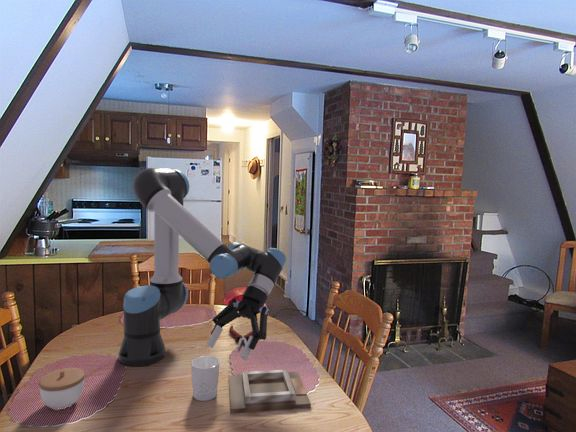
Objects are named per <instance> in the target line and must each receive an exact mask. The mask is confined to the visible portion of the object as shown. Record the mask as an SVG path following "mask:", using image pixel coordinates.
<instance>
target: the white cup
mask: <svg viewBox="0 0 576 432" xmlns="http://www.w3.org/2000/svg"><path fill="white" fill-rule="evenodd" d="M190 363H191V364H190V365H191V384H192V395H193V398H194V399H195V400H197V401H200V402H207V401H208V402H209V401H211V400H213V399H214V398H216V396H217V395H218V386H219V375H220V373H219V372H220V359H219V358H217V357H215V356H213V355H202V356H197V357H196V358H194V359H192V360H191V362H190Z"/></svg>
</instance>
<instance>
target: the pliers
mask: <svg viewBox="0 0 576 432" xmlns="http://www.w3.org/2000/svg"><path fill="white" fill-rule="evenodd" d="M228 332H229V335H230V336H232V338H234V341H235V343H238V344H237V345H238V347H237V349H238V350H240V348H241V347H242V345H243V346H244V347H245V345H246V343H247V341H248V339H249V338H250V336H253V335H252V334H253V331H252V330H251V331H249V332H248V333H247V334H244V335H243V336H242V335H241V334H240V333H239V332H237V331H236V330H235V329H234V325H230V327H229V330H228ZM253 337H254V336H253Z"/></svg>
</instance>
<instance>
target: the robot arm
mask: <svg viewBox="0 0 576 432" xmlns="http://www.w3.org/2000/svg"><path fill="white" fill-rule="evenodd" d="M132 184H133V185H132V189H133V192H134V195H135V198H137V200H138V201H139V203H140V204H141V205H142V207H144V208H145V209H146V210H148V212H150V213H151V212H153V213H154V233H153V234H154V241H153V243H154V245H153V246H154V249H153V250H154V254H153V255H154V256H153V257H154V260H153V261H154V262H153V263H154V264H153V265H154V269H153V271H154V273H153V276H151V277H150V279H149V285H141V286H136V287H134V288H131V289H129V290H128V291H126V293H125V294H124V297H123V304H122V308H123V338H122V342H121V344H120V348H119V351H118V362H120V363H121V364H122V365H125V366H130V367H143V366H148V365H152V364H156V363H158V362H159V361H161V360H163V359H164V358H165V356H166V346H165V342H164V339H163V337H162V334H161V320H162V319H164V318H166V317H169V315H172V314H175V313H176V312H179V311H180V310H181V309H182V308H183V307H184V306H186V304H187V301H188V298H189V291H188V287H187V286H186V285H185V283H184V282H183V277H182V276H181V275H180V274H179V259H180V258H179V256H180V255H179V249H180V248H179V247H180V245H179V244H180V243H179V242H180V240H179V239H180V237H181V238H182V239H183V240H184V241H185V242H186V243H188V244H189V245H190V246H191V247H192V249H194V250H195V251H196V252H197V253H198V254H199V255H200V256H202V257H203V259H205V261H207V262H208V264H209V269H210V271H211V274H212V275H213V276H214V277H216V278H217V279H223V280H224V279H227V278H231V277H233V276H235V275H236V274H237V273H239V272H242V271H243V270H248V271H250V272H253V273H254V274H253V275H252V277H251V279H250V281H249V283H248V286H247V287H246V288H245V290H244V292H243V294H242V298H241V300H239V301H238V300H237V299H236V298H232V299H231V301H230V302H229V304H227V306H225V307H224V308H223V309H222V310H221V311H220V312H219V313H218V314H216V315H215V316H214V317H213V318H212V320H211V321H212V322H213V323H214V327H213V328H212V331H211V332H210V337H209V339H208V340H207V342H206V345H207V346H208V347H210V348H211V349H213V348H214V347H215V345H216V343H217V341H218V340H219V337H221V334H222V332H223V331H224V329H223V327H225V326H226V325H228V324H229V323H231V322H233V321H234V320H236V319H238V318H239V319H240V318H241V317H242V318H244V319H245V318H246V319H248V320H250V325H251V329H252V330H251V331H253V334H252V335H253V336H254V337H253V336H250V338H249V339H248V341H247V343H246V345H245V346H244V348H243V350H242V352H241V353H240V356H239V357H241V358H242V359H243V360H244V361H248V358H249V356H250V354H251V352H252V351H254V350H255V348H256V347H257V344H258V342H259V341H260V340H263V341H265V340H266V339H267V328H268V316H269V314H270V310H269V309H268V307H267V306H265V303H266V302H267V300H268V296H269V295H270V293H271V292H272V290H273V288H274V286H275V284H276V281H277V280H278V278H279V276H280V274H281V272H282V271H283V269H284V266H285V263H286V261H287V256H286V254H285V253H284V252H283V251H282V250H280V249H279V248H275V247H269V248H267V250H266V251H262V250H259V249H256V248H255V247H252V246H249V245H247V244H245V243H242V242H237V241H234V242H232V243H231V244H230V245H229V246H226V245H225V243H224V242H223V241H221V240H220V239H219V238H218V237H217V236H216V235H215V234H214V233H213V232H211V231H210V230H209V228H207V227H206V226H205V225H204V224H203V223H202V222H201V221H200V220H198V218H196V216H194V215H193V214H192V213H191V212H190V211H189V210H188V209H187V208H186V207H184V199H185V198H186V197H187V196H188V194H189V192H190V183H189V180H188V177H187V176H186V174H184V173H183V172H182V171H180V170H179V169H176V168H170V167H169V168H163V167H162V168H159V167H158V168H156V167H148V168H145V169H142V170H140V171H139V172H138V173H137V174H136V176H135V177H134V178H133V182H132ZM258 314H259V315H260V316H259V317H260V318H259V319H258ZM258 321H259V322H258ZM258 323H259V324H258Z"/></svg>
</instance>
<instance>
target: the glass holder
mask: <svg viewBox="0 0 576 432" xmlns="http://www.w3.org/2000/svg"><path fill="white" fill-rule="evenodd" d="M228 389H229V406H230V407H229V408H230V409H229V410H230V414H239V413H240V414H241V413H255V412H269V411H281V410H282V411H283V410H297V409H309V408H310V409H311V408H312V406H311V405H312V404H311V401H310V398H309V395H308V393H307V391H306V388H305V385H304V383H303V380H302V378H301V376H300V374H299V371H291V372H290V371H288V369H276V370H275V369H274V370H255V371H253V370H252V371H251V370H250V371H242V372H241V374H235V375H228Z"/></svg>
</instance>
